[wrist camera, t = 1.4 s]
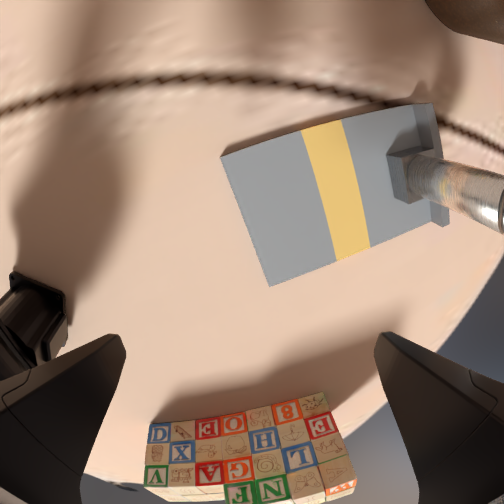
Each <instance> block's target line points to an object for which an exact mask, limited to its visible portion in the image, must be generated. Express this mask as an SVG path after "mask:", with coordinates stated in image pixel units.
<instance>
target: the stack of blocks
mask: <svg viewBox="0 0 504 504" xmlns="http://www.w3.org/2000/svg"><path fill="white" fill-rule="evenodd" d="M356 482H357V476H356V474H355V471H354V469H353V466H352V464H351V461H350V459H349V456H348V452H347V450H346V448H345V444H344V442H343V439H342V437H341V435H340V433H339V430H338V428H337V426H336V423H335V421H334V418H333V416H332V414H331V412H330V408H329V406H328V403H327V401H326V398H325V396H324V393H323V392H320V393H317V394H313V395H310V396H306V397H303V398H299V399H294V400H290V401H286V402H283V403H279V404H274V405H271V406H266V407H261V408H257V409H252V410H247V411H245V412H240V413H236V414H230V415H224V416H220V417H213V418H207V419H200V420H196V421H195V420H191V421H182V422H172V423H160V424H150V426H149V433H148V440H147V446H146V455H145V471H144V487H145V488H146V489H148V490H149V491H151V492H153V493H154V494H156V495H158V496H160V497H162V498H163V499H165V500H167V501H169V502H173V501H174V502H179V501H180V502H185V501H186V502H187V501H193V502H195V501H213V500H225V504H320V503H323V502H325V501H330V500H334V499H337V498H340V497H343V496H346V495H349V494H351V493H353V491H354V488H355V485H356Z"/></svg>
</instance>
